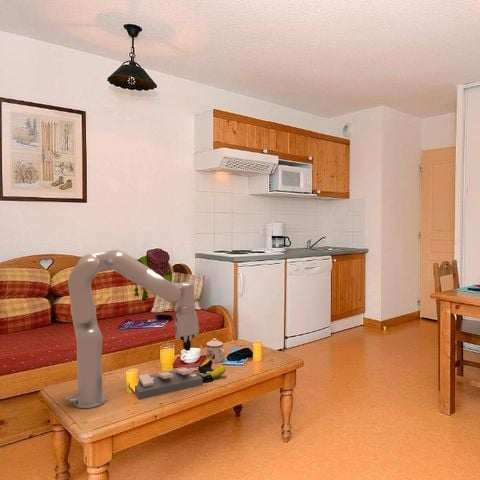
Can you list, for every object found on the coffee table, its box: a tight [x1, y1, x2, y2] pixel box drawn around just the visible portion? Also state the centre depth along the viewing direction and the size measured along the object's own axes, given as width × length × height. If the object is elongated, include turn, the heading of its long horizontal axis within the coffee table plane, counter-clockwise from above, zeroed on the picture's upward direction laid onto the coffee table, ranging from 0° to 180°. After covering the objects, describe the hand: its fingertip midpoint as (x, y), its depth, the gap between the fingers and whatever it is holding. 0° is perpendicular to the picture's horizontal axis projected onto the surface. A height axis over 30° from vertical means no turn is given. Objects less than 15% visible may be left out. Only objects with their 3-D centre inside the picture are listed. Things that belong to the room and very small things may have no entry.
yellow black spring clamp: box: [196, 359, 227, 379], centre depth 195 cm, size 15×6×10 cm
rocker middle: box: [155, 370, 173, 379], centre depth 182 cm, size 4×10×1 cm, turn 31°
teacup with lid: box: [205, 337, 226, 364], centre depth 215 cm, size 12×9×12 cm
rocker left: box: [137, 370, 154, 387], centre depth 178 cm, size 4×10×1 cm, turn 30°
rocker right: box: [174, 366, 193, 375], centre depth 187 cm, size 4×10×1 cm, turn 31°
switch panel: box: [134, 367, 204, 400], centre depth 183 cm, size 29×16×4 cm, turn 121°
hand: (187, 349), depth 183 cm, fingers closed
